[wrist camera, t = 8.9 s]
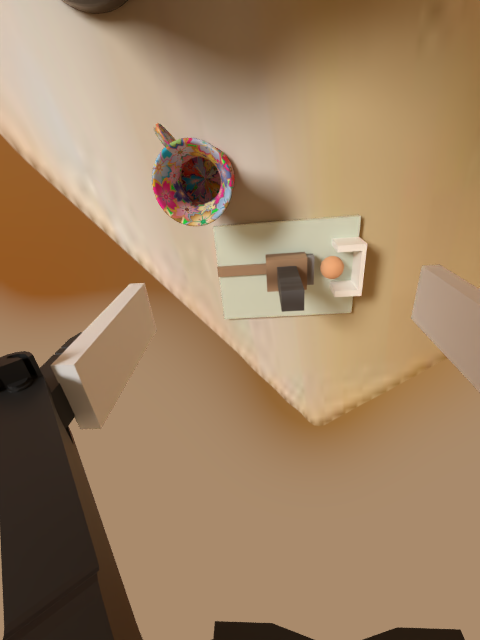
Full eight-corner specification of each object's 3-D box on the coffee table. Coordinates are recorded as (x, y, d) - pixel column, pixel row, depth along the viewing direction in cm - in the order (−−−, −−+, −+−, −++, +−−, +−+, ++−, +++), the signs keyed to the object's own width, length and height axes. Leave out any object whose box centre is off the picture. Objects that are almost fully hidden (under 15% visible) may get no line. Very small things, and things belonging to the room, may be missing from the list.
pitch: (213, 226, 47) (212, 228, 46) (359, 214, 46) (362, 216, 44) (224, 316, 55) (224, 320, 54) (349, 310, 53) (352, 314, 52)
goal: (332, 238, 46) (338, 245, 43) (359, 236, 46) (367, 243, 43) (329, 287, 50) (334, 297, 47) (354, 285, 50) (361, 295, 46)
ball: (335, 261, 44) (349, 255, 46) (315, 257, 46) (330, 251, 48) (333, 284, 45) (347, 277, 47) (315, 278, 48) (328, 272, 50)
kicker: (265, 254, 47) (267, 283, 37) (312, 251, 47) (328, 280, 36) (266, 284, 50) (269, 319, 39) (311, 281, 49) (326, 317, 38)
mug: (250, 187, 44) (248, 196, 35) (200, 223, 47) (186, 241, 38) (199, 105, 40) (181, 91, 31) (148, 151, 43) (117, 151, 34)
